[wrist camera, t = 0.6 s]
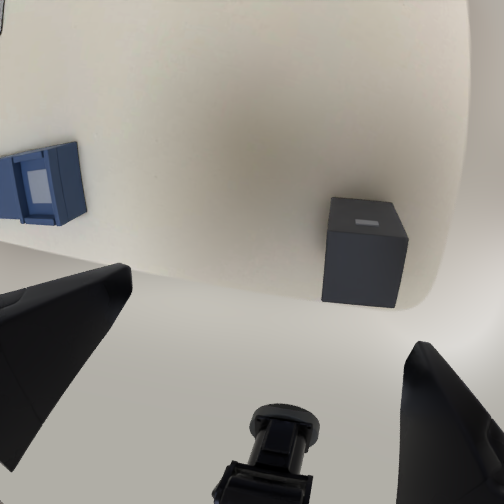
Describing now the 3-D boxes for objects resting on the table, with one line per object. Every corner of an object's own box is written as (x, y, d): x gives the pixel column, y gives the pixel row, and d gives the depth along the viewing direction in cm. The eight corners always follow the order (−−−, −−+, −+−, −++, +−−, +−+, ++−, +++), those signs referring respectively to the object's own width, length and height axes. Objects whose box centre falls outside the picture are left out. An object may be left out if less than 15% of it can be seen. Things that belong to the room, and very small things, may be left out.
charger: (384, 258, 21) (394, 309, 16) (327, 253, 22) (320, 302, 17) (392, 201, 19) (409, 237, 14) (331, 195, 20) (327, 229, 15)
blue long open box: (87, 212, 26) (60, 226, 23) (-12, 210, 31) (-31, 220, 28) (76, 141, 23) (47, 149, 20) (-21, 163, 28) (-42, 171, 25)
